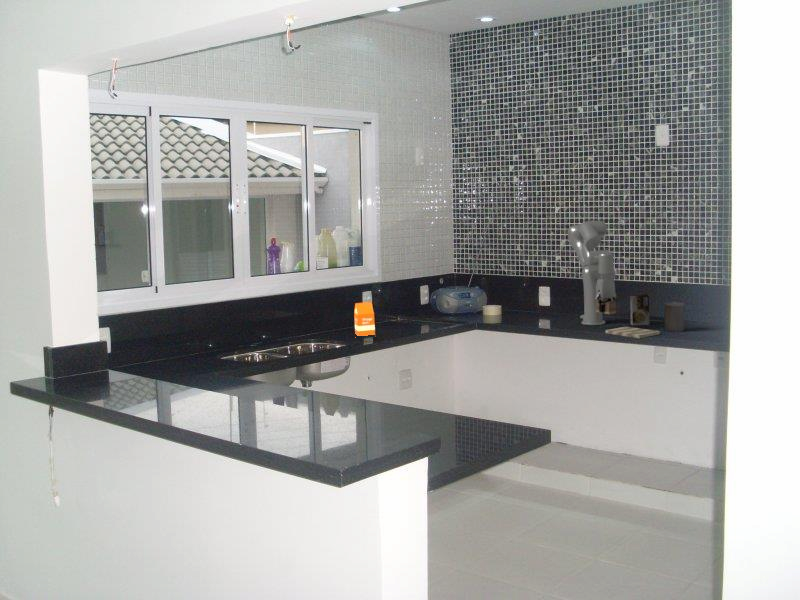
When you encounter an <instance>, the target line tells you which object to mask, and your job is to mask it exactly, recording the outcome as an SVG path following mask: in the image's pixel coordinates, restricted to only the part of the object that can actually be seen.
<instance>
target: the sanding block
mask: <svg viewBox="0 0 800 600" xmlns="http://www.w3.org/2000/svg"><path fill="white" fill-rule="evenodd" d="M601 301H602V300H601ZM604 305H605V312H600V311H599V304H598V302H597V301H596V312H599V313H602V314H605V315H611V314H616V313H617V301H615V300H614V301H610V300H608V299H605V301H604Z"/></svg>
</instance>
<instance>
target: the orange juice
mask: <svg viewBox="0 0 800 600" xmlns="http://www.w3.org/2000/svg"><path fill="white" fill-rule="evenodd" d="M354 304H355V305H354V313H353V314H354V315H353V316H354V332H355V333H354V334H356V335H357V336H368V335H375V336H376V327H375V326H376V325H375V312H374V308H373V303H372V301H368V302H367V301H366V302H356V303H354Z"/></svg>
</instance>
